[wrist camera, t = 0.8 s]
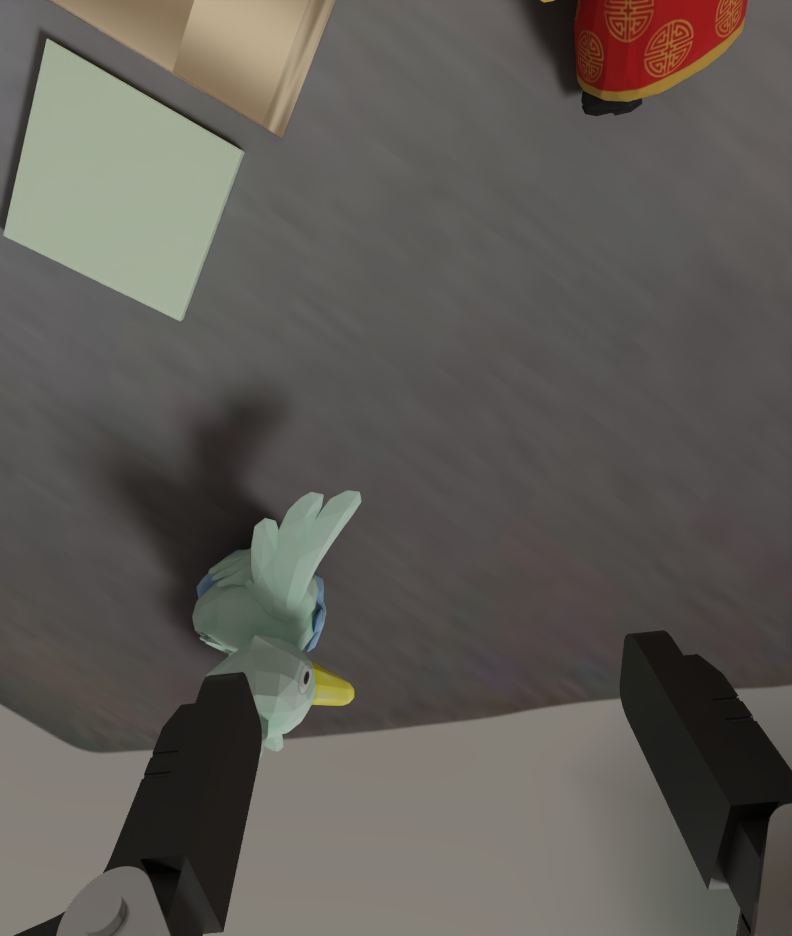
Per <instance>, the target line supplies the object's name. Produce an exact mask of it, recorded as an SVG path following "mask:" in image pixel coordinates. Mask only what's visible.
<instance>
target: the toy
mask: <svg viewBox="0 0 792 936" xmlns="http://www.w3.org/2000/svg"><path fill="white" fill-rule="evenodd" d="M322 501H323V494H318V493H313V492H310V493H309V494H307V495H305V496H303V497H301V498H300V499H299V500H298V501H297V502H296V503H295V504H294V505H293V506H292V507H291V508H290V509H289V510H288V512H287V514H286V516H285V518H284V520H283V522H282V523H281V525H280V527H279V529H278V526H277V523H276V521H275V520H271V519H267V518H264V519H263V520H262V521H261V522H259V523H258V524H257V525H256V526H255V527H254V533H253V539H252V546H251V548H250V549H248V550H236V551H235V552H233V553H232V554H230V555H229V556H227V557H225V558H224V559H223V560H222V561H220V562H219V563H218V564H216V565H215V566H213V567H212V568H210V569H209V572H208V574H207V575H206V576H205V577H203V578H202V580H201V581H200V583H199V584H198V586H197V593H198V599H199V600H198V601H197V602H196V605H195V608H194V612H193V616H192V619H193V623H194V628H195V631H197V633H198V634H200V635H203V636H200V639H201V640H203V641H205V642H206V644H208V645H210V646H212V647H214V648H216V649H219V650H221V651H223V652H226V653H228V654H230V655H229V657H228V658H227V659H225V660H224V661H223V662H222V663H220V664H219V665H218V666H217V667H215V668H214V669H213V670H212V671H211V672H209V673H208V674H207V675H206V676H208V675H218V674H228V673H238V672H244V673H245V675H246V677H247V679H248V683H249V686H250V689H251V692H252V695H253V698H254V701H255V705H256V708H257V711H258V714H259V717H260V721H261V727H262V746H261V753H260V758H261V756H262V753H263V750H264V746H266V747H267V748H268V749H269V750H273V751H277V752H278V751H280V750H281V749H282V748H283V738H282V734H285V733H288V732H289V731H291V730H292V729H293V728H294V727H296V726H297V725H298V724H299V723H300V722H302V720H303V718H304V717H305V715H306V713H307V712H308V710H309V708H310V706H311V705H312V704H313V705H334V706H343V705H345V704H348V703H350V702H351V700H352V699H353V698H354V689H353V687H352V686H351V685H350V683H348V682H346V681H345V680H343V679H341V678H339V677H338V676H336V675H334V674H333V673H331V672H329V671H327V670H326V669H324V668H322V667H321V666H319V665H317V664H316V663H314V662H312V661H311V660H310V659H309V658H308V657H307V656H306V655H305V654H304V653H303V652H302V650H303V649H304V647H305V648H306V651H307V652H308V651H310V650H311V649H313V648H314V647H315V646H316V644H317V641H318V638H319V636H320V633H321V631H322V628H323V625H324V620H325V616H326V614H327V613H326V606H325V604H324V602H323V594H324V586H323V579H322V578H321V577H320V576H319V575H318V574H317V573H316V572H315V570H316V568H317V566H318V565H319V563H320V561H321V560H322V558H323V557H324V555H325V553H326V552H327V550H328V549H329V547H330V546H331V544H332V543H333V541H334V540H335V539H336V537H337V536H338V534H339V533H340V531H341V530H342V528H343V527H344V526H345V524H346V523H347V522H348V520H349V519H350V518H351V516H352V515H353V514H354V512H355V511H356V509H357V508H358V506H359V505H360V503H361V502H362V501H361V497H360V492H356V491H348V490H347V491H345V492H343V493H341V494H339V495H337V496H335V497H333V498H331V499H330V500H329V501H328V503H327V504H326V505H325V506H324V508H323V509H322V510H321V511H320V509H321V507H322ZM319 511H320V513H319V514H318V512H319ZM317 514H318V515H317ZM260 758H259V760H260Z"/></svg>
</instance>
